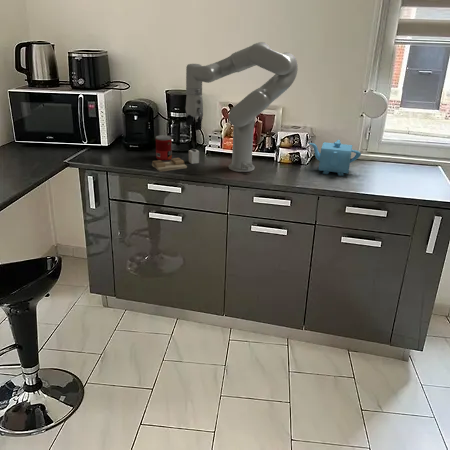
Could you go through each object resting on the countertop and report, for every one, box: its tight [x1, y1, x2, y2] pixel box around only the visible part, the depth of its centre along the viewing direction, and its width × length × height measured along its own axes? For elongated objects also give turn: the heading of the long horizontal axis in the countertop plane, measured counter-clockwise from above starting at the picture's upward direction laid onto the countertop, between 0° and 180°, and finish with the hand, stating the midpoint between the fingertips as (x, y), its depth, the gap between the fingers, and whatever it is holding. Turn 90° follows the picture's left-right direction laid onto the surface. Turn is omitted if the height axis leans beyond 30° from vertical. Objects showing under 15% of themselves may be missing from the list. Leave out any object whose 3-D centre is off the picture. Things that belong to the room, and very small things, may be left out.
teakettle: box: [308, 139, 362, 177], centre depth 234 cm, size 19×19×15 cm
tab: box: [188, 148, 200, 164], centre depth 242 cm, size 4×4×7 cm
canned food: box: [155, 134, 173, 161], centre depth 245 cm, size 8×8×11 cm
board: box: [151, 157, 188, 173], centre depth 235 cm, size 10×14×2 cm
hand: (193, 127), depth 236 cm, fingers open, 9 cm apart
